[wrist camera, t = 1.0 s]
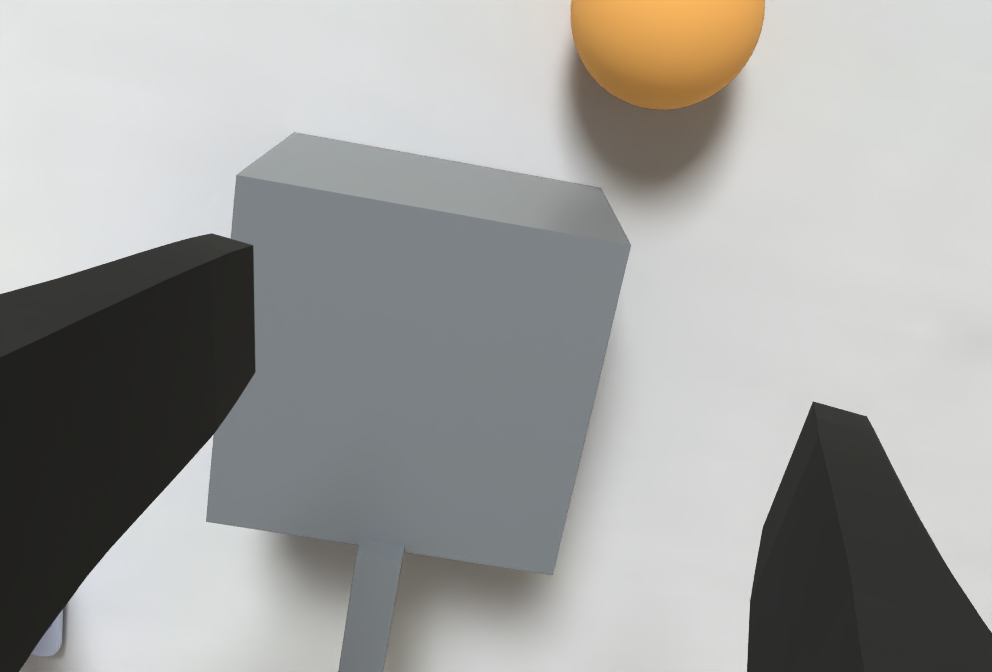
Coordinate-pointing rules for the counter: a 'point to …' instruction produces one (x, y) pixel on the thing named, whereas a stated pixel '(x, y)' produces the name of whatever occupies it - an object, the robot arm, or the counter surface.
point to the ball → (665, 46)
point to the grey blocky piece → (414, 362)
